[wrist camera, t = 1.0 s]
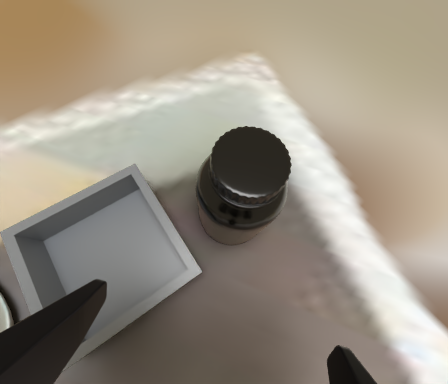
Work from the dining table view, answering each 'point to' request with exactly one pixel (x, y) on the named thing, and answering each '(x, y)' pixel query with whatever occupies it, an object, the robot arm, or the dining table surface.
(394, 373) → the dining table surface
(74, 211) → the square tray
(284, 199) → the supplement bottle
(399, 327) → the dining table surface
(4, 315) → the salad plate
